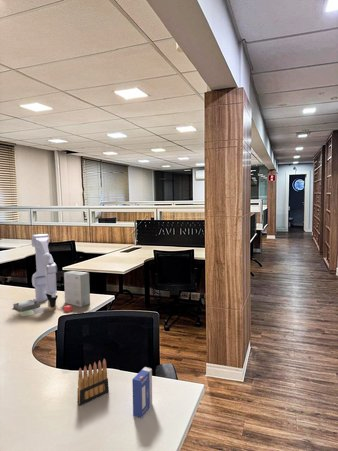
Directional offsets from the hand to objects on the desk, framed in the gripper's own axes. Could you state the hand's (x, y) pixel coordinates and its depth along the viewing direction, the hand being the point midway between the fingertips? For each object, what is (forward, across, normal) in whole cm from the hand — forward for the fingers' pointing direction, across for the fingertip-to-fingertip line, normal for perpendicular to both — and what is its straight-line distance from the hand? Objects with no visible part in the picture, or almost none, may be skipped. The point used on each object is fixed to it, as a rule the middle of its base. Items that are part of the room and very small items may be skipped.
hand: (52, 306), depth 195 cm
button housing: (+2, -11, -13) cm, 17 cm away
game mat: (+2, 0, -7) cm, 7 cm away
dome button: (+1, -11, -13) cm, 17 cm away
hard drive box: (+2, -2, +16) cm, 16 cm away
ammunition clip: (+2, +99, -5) cm, 99 cm away
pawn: (+1, 0, 0) cm, 1 cm away
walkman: (+2, +113, +6) cm, 113 cm away
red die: (+2, +10, +7) cm, 12 cm away
